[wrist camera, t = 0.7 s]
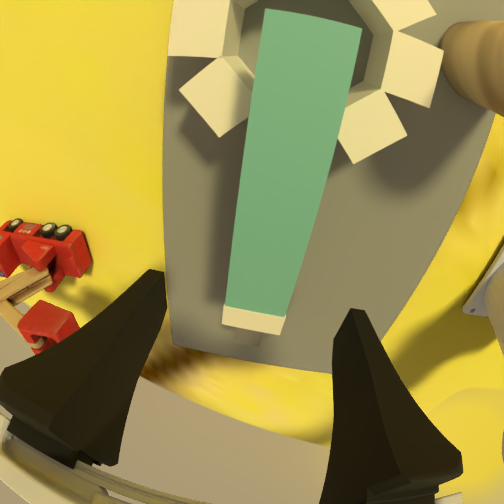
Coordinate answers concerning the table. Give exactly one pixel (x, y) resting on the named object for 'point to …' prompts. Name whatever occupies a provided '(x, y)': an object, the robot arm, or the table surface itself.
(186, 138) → the board
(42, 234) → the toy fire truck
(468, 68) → the peg
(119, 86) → the table surface
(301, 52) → the bar
